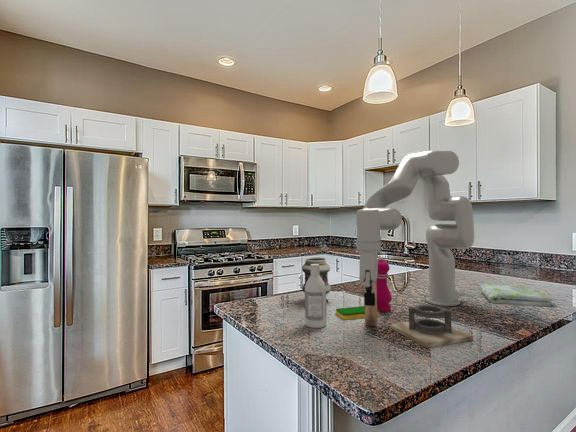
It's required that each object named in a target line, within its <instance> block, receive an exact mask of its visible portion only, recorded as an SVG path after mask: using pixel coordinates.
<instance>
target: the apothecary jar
mask: <svg viewBox="0 0 576 432" xmlns="http://www.w3.org/2000/svg"><path fill="white" fill-rule="evenodd" d="M311 264H319V275H320V277H321V278H322V280H323V282H324V284H325V287H326V295H327V294H329V293H330V292H331V290H332V287H331V284H329V280H328V279H329V278H328V277H329V276H328V273H329V272H330V270H331V266H330V265H329V263H327V259H326V257H325V258H324V257H308V258H307V257H306V259H305V262H304V264H303V265H302V267H301V270H302V272H303V273H304V283H303V284H302V286H301V289H302V292H303V293H304V294H305V285H306V282H307V281H308V279H309V277H310V276H311V268H310V265H311ZM328 303H329V299H327V298H326V304H328Z"/></svg>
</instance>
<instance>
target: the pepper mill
mask: <svg viewBox="0 0 576 432" xmlns="http://www.w3.org/2000/svg"><path fill="white" fill-rule="evenodd" d="M389 271H390V265H389V263H388V262H387V261H384V257H383V256H379V257H378V275H377V280H376V288H377V310H379V312H389V311H391V304H390V303H391V302H392V300H393V298H392V293H391V291H390V289H389V287H388V278H389Z"/></svg>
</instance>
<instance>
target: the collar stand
mask: <svg viewBox="0 0 576 432" xmlns="http://www.w3.org/2000/svg"><path fill="white" fill-rule="evenodd" d="M415 315H416V316H418V317H421V318H418V319H415ZM442 318H444V322H443V321H440V320H438V319H442ZM452 322H453V321H452V310H451V309H450V308H449V309H448V308H443V307H442V306H441V307H440V306H439V305H433V304H419V305H416V306H408V322H401V323H399V322H398V323H395V324H393V323H392V324H390V329H391V330H393V331H395V332H396V333H398V334H400V335H403V336H404V337H406V338H407V339H409V340H411V341H413V342H414V343H416V344H419V345H420V346H422V347H423V348H427V349H428V348H434V347H440V346H446V345H452V344H457V343H458V344H459V343H464V342H471V341H474V335H471V334H470V333H468V332H465V331H463V330H460V329H458V328H455V327H453V326H452V325H453V323H452Z"/></svg>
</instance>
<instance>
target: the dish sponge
mask: <svg viewBox="0 0 576 432" xmlns="http://www.w3.org/2000/svg"><path fill="white" fill-rule="evenodd" d="M335 315H337V316H338V317H339V318H340V319H342V320H344V321H345V320H353V319H355V320H357V319H365V313H364V305H361V306H353V307H351V306H350V307H340V308H339V307H338V308H336V309H335ZM377 317H380V311H379V310H377Z"/></svg>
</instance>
